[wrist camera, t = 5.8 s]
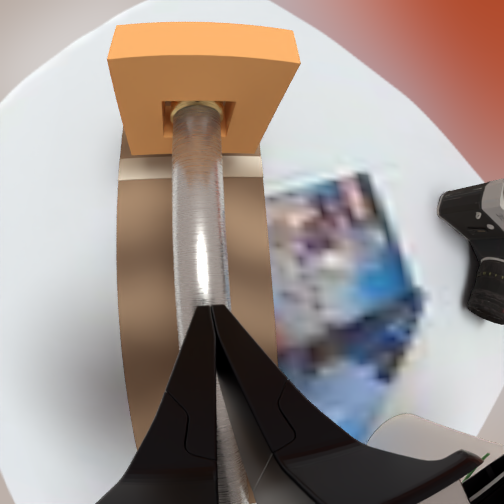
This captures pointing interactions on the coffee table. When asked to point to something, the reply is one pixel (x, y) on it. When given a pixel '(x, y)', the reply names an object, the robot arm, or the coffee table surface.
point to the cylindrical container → (431, 441)
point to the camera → (481, 241)
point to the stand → (162, 270)
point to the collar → (199, 78)
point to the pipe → (203, 252)
